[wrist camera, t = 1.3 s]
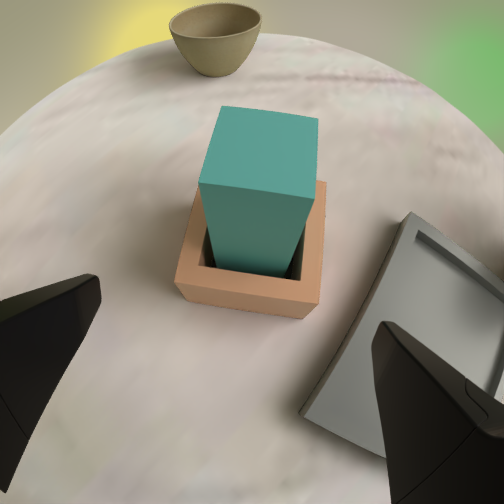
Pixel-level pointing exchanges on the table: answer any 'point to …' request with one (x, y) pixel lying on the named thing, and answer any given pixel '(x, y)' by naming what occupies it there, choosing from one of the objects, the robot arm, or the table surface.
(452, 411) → the robot arm
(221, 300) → the holder
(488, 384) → the tray
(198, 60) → the flower pot
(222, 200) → the teal block
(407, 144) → the table surface
